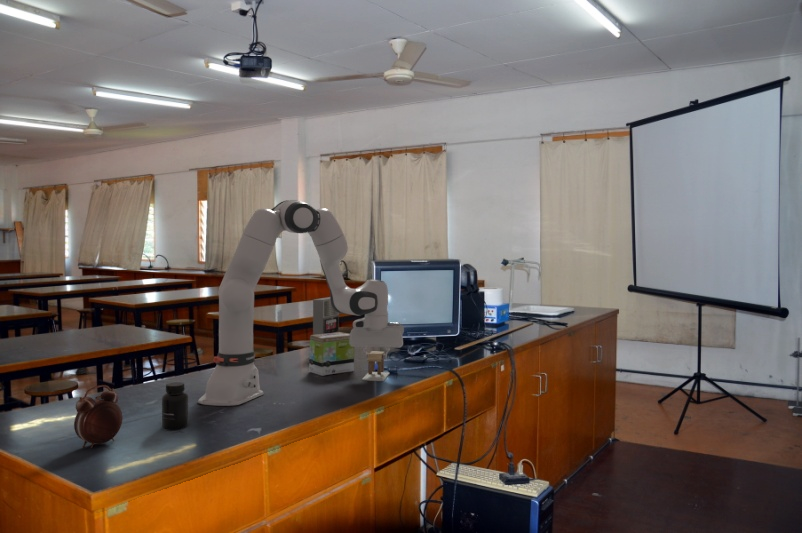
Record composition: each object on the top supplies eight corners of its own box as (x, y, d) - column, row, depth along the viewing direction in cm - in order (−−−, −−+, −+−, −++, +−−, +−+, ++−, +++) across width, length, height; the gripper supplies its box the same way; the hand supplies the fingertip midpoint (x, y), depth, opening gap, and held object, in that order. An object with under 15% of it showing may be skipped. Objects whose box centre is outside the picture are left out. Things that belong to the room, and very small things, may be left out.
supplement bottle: (162, 432, 163) (161, 387, 163) (161, 424, 169) (160, 382, 169) (189, 429, 166) (188, 385, 165) (187, 422, 172) (187, 380, 172)
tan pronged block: (380, 375, 226) (380, 355, 226) (367, 374, 227) (367, 354, 226) (384, 371, 233) (384, 351, 232) (371, 370, 234) (371, 351, 233)
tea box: (323, 376, 230) (323, 338, 229) (308, 372, 238) (308, 334, 237) (355, 371, 240) (355, 334, 239) (340, 367, 248) (340, 331, 247)
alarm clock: (112, 437, 159) (111, 380, 158) (124, 440, 156) (123, 382, 156) (72, 449, 149) (71, 389, 149) (84, 453, 147) (82, 391, 146)
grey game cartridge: (324, 356, 270) (324, 300, 269) (312, 355, 272) (312, 299, 271) (340, 351, 282) (340, 297, 281) (329, 350, 285) (329, 297, 284)
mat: (383, 381, 223) (383, 379, 223) (362, 380, 224) (362, 378, 224) (389, 374, 235) (389, 372, 235) (369, 373, 236) (369, 371, 236)
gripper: (404, 321, 231) (404, 357, 232) (351, 320, 233) (351, 356, 233) (403, 323, 225) (403, 360, 225) (348, 322, 226) (348, 359, 227)
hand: (376, 358), depth 229 cm, fingers closed on tan pronged block, 5 cm apart
